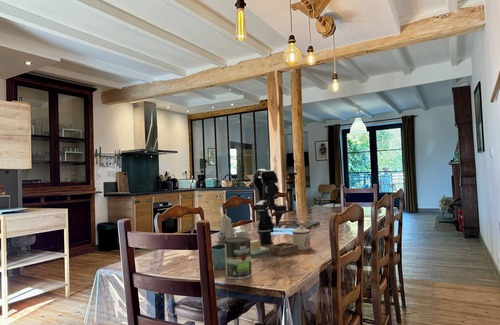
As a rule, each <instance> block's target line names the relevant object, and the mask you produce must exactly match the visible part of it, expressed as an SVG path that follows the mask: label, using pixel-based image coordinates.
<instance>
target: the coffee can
mask: <svg viewBox="0 0 500 325" xmlns="http://www.w3.org/2000/svg"><path fill="white" fill-rule="evenodd" d="M250 241H251V238H249V237H247V238H246V237H237V236H235V237H234V238H228V239H225V240H224V242H223V243H224V244H225V260H226V268H225V277H226V278H227V279H230V280H243V279H248V278H250V277H251V276H252V275H253V274H252V257H251V249H250Z"/></svg>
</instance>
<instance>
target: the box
mask: <svg viewBox="0 0 500 325" xmlns="http://www.w3.org/2000/svg"><path fill="white" fill-rule="evenodd" d="M268 248H269V251H270V254H269V255H272V256H278V257H281V258H282V257H283V258H285V257H288V256H291V255H294V254H297V253H299V250H298V244H293V243H292V242H285V241H283V242H279V243H276V244H272V245H269V246H268Z"/></svg>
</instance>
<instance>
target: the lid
mask: <svg viewBox="0 0 500 325" xmlns="http://www.w3.org/2000/svg"><path fill="white" fill-rule="evenodd" d="M261 245H262V244H261V242H260V239H255V240H254V239H253V240H250V249H251V255H257V254H260V253H264V252H266V251H270V248H269V247H264V246H261Z"/></svg>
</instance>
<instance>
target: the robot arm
mask: <svg viewBox="0 0 500 325" xmlns="http://www.w3.org/2000/svg"><path fill="white" fill-rule="evenodd" d="M278 182H279V179H278V174H277V173H276V172H275V170H267V169H266V168H258V169H257V170H256V172H255V173H254V174H253V177H252V185H253V188H254V189H255V191H256V192H257V200H258V202H256V203H255V204H254V205H253V211H255V213H257V214H258V215H259V217H258V220H257V224H256V225H257V226H256V233H257V234H259V236H258V240H260V242H261V245H265V246H266V245H269V244H273V243H274V241H273V240H272V233H274V226H275V225H276V226H279V225H280V221H281V220H282V217H283V215H284V214H285V212H286V211H287V210H288V209H287V206H286V204H285V205H283V204H278V203H276V199H277V196H276V195H277V194H278V193H279V187H278V185H277V184H278ZM277 204H278V205H277ZM268 210H269V211H274V212H273V214H274V215H275V217H274V219H275V225H274V222H273V221H272V217H271V215H269V214H268Z"/></svg>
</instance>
